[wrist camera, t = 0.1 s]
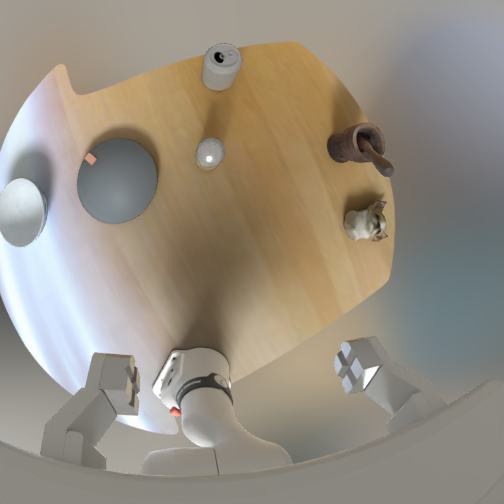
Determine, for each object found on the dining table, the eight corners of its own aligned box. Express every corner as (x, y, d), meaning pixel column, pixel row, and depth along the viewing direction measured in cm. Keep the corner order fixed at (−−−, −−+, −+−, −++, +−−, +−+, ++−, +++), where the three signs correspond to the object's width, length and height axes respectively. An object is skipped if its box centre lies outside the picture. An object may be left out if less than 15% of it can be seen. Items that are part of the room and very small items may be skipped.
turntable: (174, 174, 55) (173, 173, 53) (121, 239, 55) (118, 241, 53) (116, 124, 50) (113, 121, 48) (66, 188, 50) (61, 188, 48)
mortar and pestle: (360, 173, 66) (414, 169, 46) (333, 181, 64) (385, 179, 45) (347, 130, 63) (398, 113, 43) (319, 136, 61) (367, 118, 42)
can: (197, 69, 52) (200, 44, 41) (229, 62, 53) (237, 37, 42) (206, 95, 54) (210, 74, 43) (238, 88, 55) (248, 66, 44)
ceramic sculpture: (355, 206, 57) (401, 200, 61) (334, 204, 65) (379, 199, 69) (358, 253, 60) (402, 242, 63) (337, 246, 68) (380, 237, 72)
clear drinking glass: (207, 176, 58) (211, 171, 46) (190, 161, 57) (190, 152, 45) (223, 159, 58) (231, 150, 46) (206, 144, 56) (210, 132, 45)
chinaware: (30, 167, 48) (14, 165, 40) (69, 200, 52) (54, 201, 44) (6, 219, 48) (-11, 223, 41) (42, 253, 52) (27, 261, 45)
